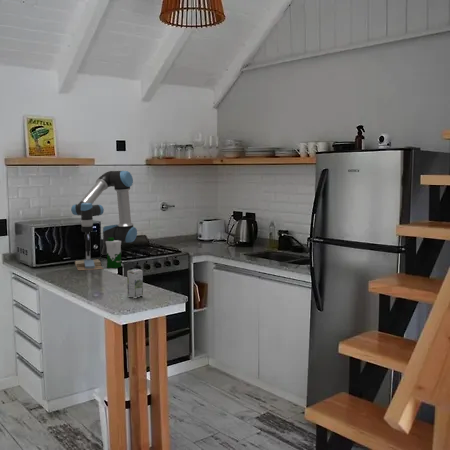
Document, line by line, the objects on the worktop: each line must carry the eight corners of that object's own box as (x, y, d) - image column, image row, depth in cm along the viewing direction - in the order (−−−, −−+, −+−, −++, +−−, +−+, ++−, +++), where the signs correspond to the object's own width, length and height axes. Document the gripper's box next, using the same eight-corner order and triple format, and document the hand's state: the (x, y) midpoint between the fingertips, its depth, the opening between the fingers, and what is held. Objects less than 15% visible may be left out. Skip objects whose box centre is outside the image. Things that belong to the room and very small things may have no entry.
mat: (76, 268, 366) (76, 267, 366) (100, 266, 372) (100, 265, 372) (78, 270, 357) (78, 270, 357) (102, 268, 362) (102, 268, 362)
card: (84, 262, 368) (84, 260, 367) (93, 262, 370) (93, 259, 369) (85, 269, 361) (85, 266, 360) (94, 268, 363) (94, 265, 362)
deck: (75, 265, 377) (75, 260, 377) (98, 263, 383) (98, 259, 383) (76, 268, 366) (76, 263, 366) (100, 266, 372) (100, 262, 371)
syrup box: (135, 295, 288) (135, 268, 286) (143, 297, 284) (142, 269, 283) (127, 297, 284) (126, 270, 282) (135, 299, 280) (134, 271, 278)
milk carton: (112, 265, 374) (112, 236, 372) (123, 266, 370) (122, 237, 368) (104, 267, 366) (103, 238, 364) (115, 268, 362) (114, 239, 360)
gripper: (80, 225, 372) (81, 259, 374) (82, 227, 359) (83, 262, 362) (91, 224, 374) (92, 258, 377) (93, 226, 362) (95, 261, 365)
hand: (88, 260), depth 369 cm, fingers closed
